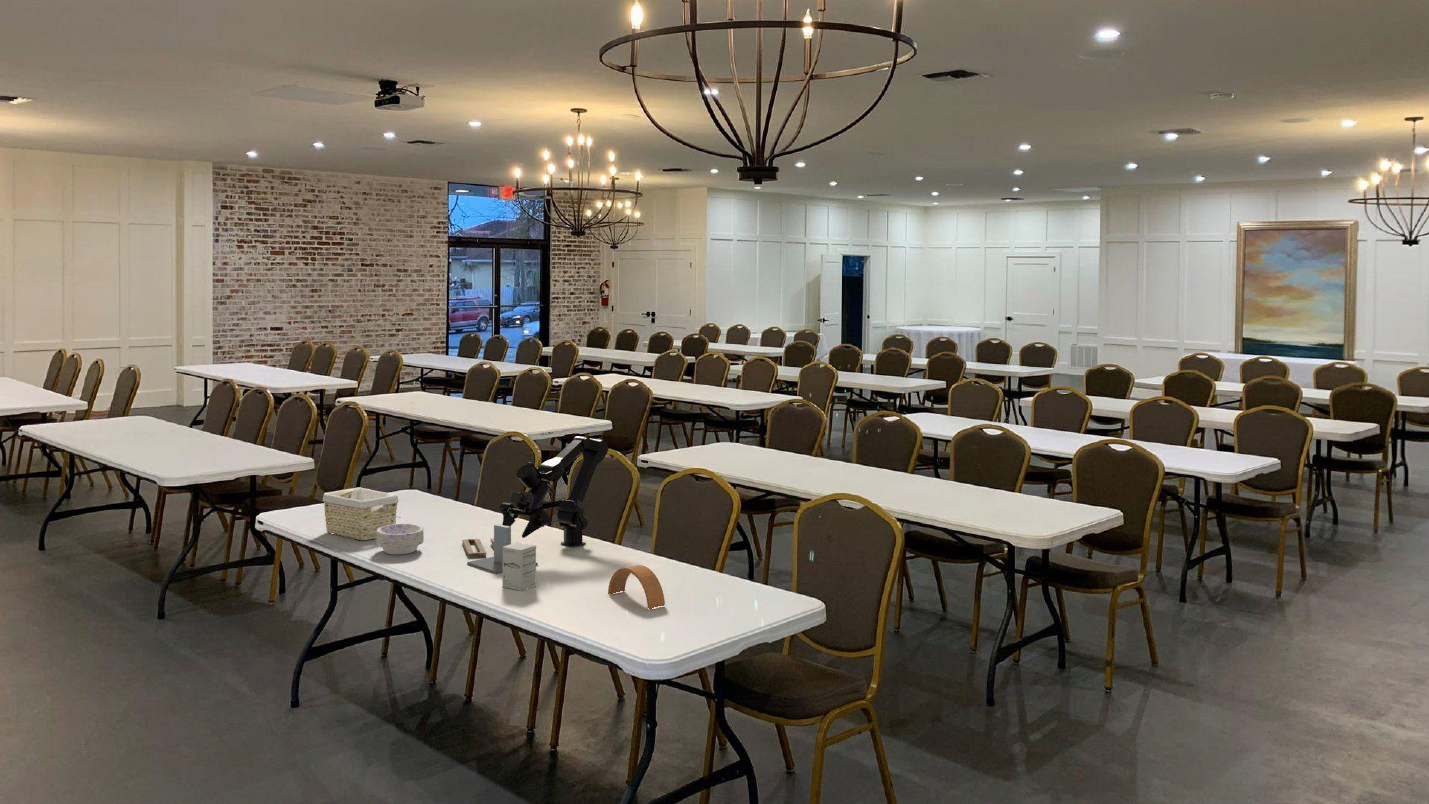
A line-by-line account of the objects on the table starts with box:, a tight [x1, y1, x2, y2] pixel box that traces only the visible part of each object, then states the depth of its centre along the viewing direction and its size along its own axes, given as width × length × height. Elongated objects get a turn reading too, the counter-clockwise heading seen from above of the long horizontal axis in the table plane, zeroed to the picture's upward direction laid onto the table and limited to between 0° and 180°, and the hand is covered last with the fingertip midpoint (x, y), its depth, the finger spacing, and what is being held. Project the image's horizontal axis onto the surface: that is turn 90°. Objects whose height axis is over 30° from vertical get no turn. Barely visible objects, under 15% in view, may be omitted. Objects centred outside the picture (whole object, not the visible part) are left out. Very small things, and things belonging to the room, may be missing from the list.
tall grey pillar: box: [493, 524, 512, 563], centre depth 348 cm, size 2×6×12 cm, turn 56°
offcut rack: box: [461, 537, 494, 559], centre depth 368 cm, size 14×20×3 cm
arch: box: [607, 564, 666, 609], centre depth 312 cm, size 6×20×10 cm, turn 40°
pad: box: [466, 556, 539, 575], centre depth 349 cm, size 16×16×1 cm
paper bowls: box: [376, 523, 425, 556], centre depth 363 cm, size 15×15×8 cm
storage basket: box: [322, 486, 399, 541], centre depth 387 cm, size 24×16×15 cm
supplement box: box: [501, 542, 537, 592], centre depth 324 cm, size 7×7×13 cm
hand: (512, 535), depth 352 cm, fingers open, 9 cm apart
